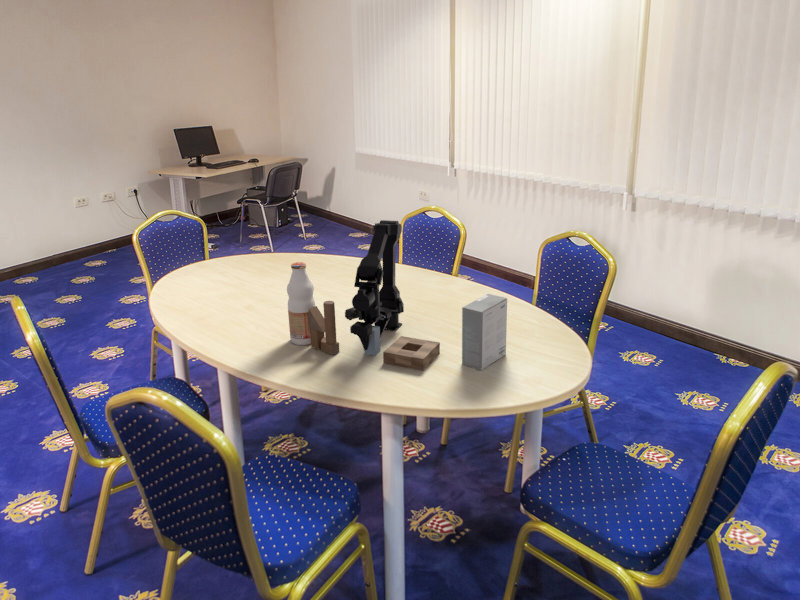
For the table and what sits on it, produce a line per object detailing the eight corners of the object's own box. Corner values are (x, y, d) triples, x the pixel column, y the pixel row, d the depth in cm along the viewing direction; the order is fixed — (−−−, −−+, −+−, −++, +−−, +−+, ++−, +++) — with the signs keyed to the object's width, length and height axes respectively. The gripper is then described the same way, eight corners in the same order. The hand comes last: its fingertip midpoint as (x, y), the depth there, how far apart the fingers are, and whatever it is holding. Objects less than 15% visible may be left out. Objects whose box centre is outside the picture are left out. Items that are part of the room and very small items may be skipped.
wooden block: (318, 343, 219) (315, 295, 213) (339, 352, 212) (337, 302, 206) (310, 347, 216) (307, 297, 210) (331, 355, 209) (328, 305, 203)
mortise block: (401, 346, 215) (401, 335, 214) (439, 353, 210) (439, 342, 208) (383, 363, 203) (383, 351, 202) (423, 370, 198) (423, 359, 196)
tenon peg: (369, 349, 214) (369, 324, 211) (380, 351, 212) (379, 326, 209) (364, 354, 210) (363, 329, 207) (375, 355, 209) (374, 330, 206)
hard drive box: (486, 348, 213) (488, 293, 206) (506, 354, 208) (509, 297, 201) (460, 364, 201) (461, 306, 195) (481, 371, 197) (482, 311, 190)
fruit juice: (291, 347, 217) (285, 269, 207) (289, 336, 225) (283, 261, 216) (319, 343, 219) (314, 266, 209) (315, 333, 227) (310, 259, 218)
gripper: (362, 289, 216) (363, 331, 221) (334, 306, 200) (337, 351, 206) (391, 293, 212) (392, 335, 217) (365, 311, 196) (367, 357, 201)
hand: (372, 344), depth 210 cm, fingers open, 9 cm apart
